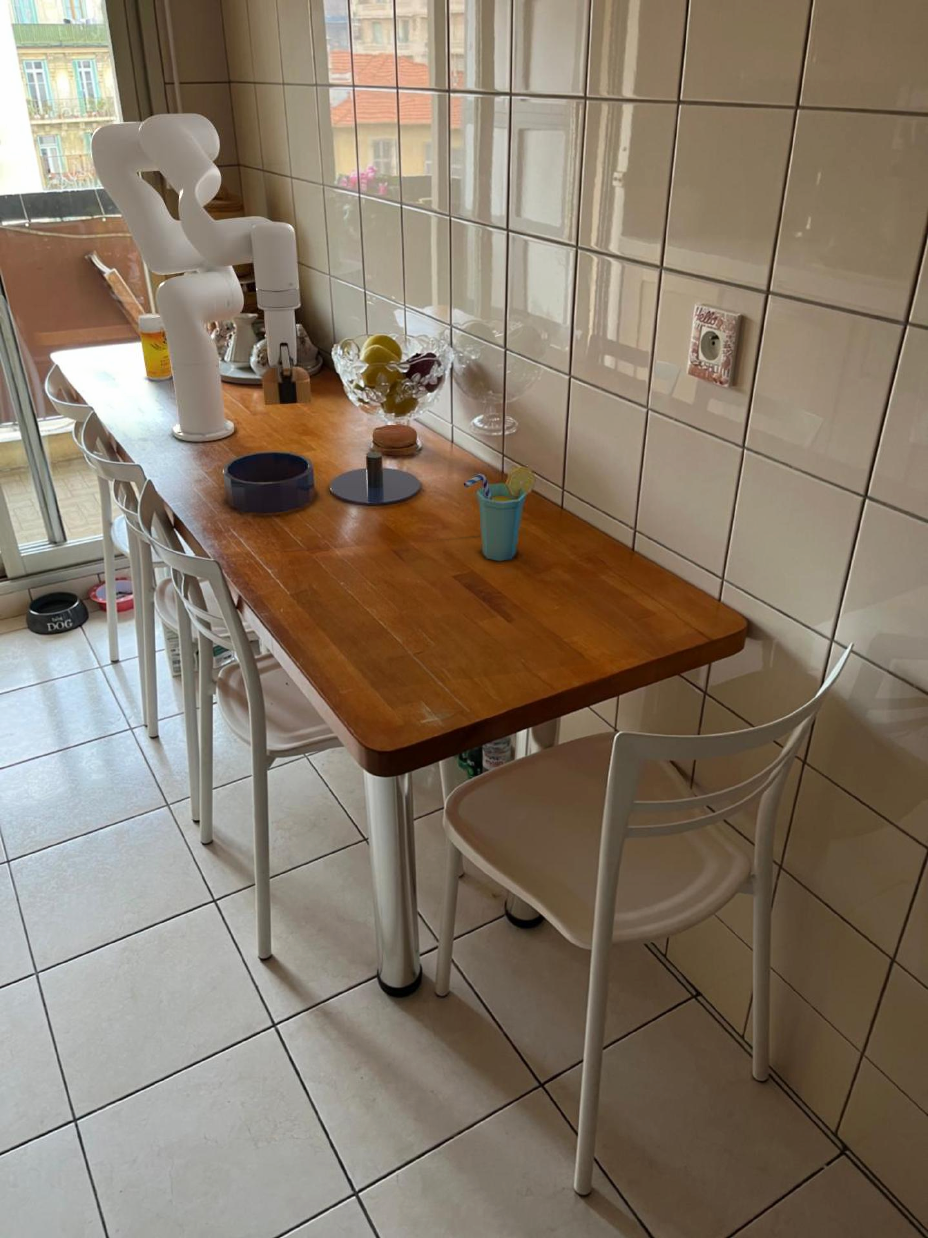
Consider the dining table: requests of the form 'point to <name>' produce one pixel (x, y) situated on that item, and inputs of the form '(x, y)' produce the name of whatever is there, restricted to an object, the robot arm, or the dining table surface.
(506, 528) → the cup
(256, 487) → the pot
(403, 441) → the burger
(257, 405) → the dining table surface
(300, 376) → the bread
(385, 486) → the lid
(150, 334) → the yellow tall cylinder
